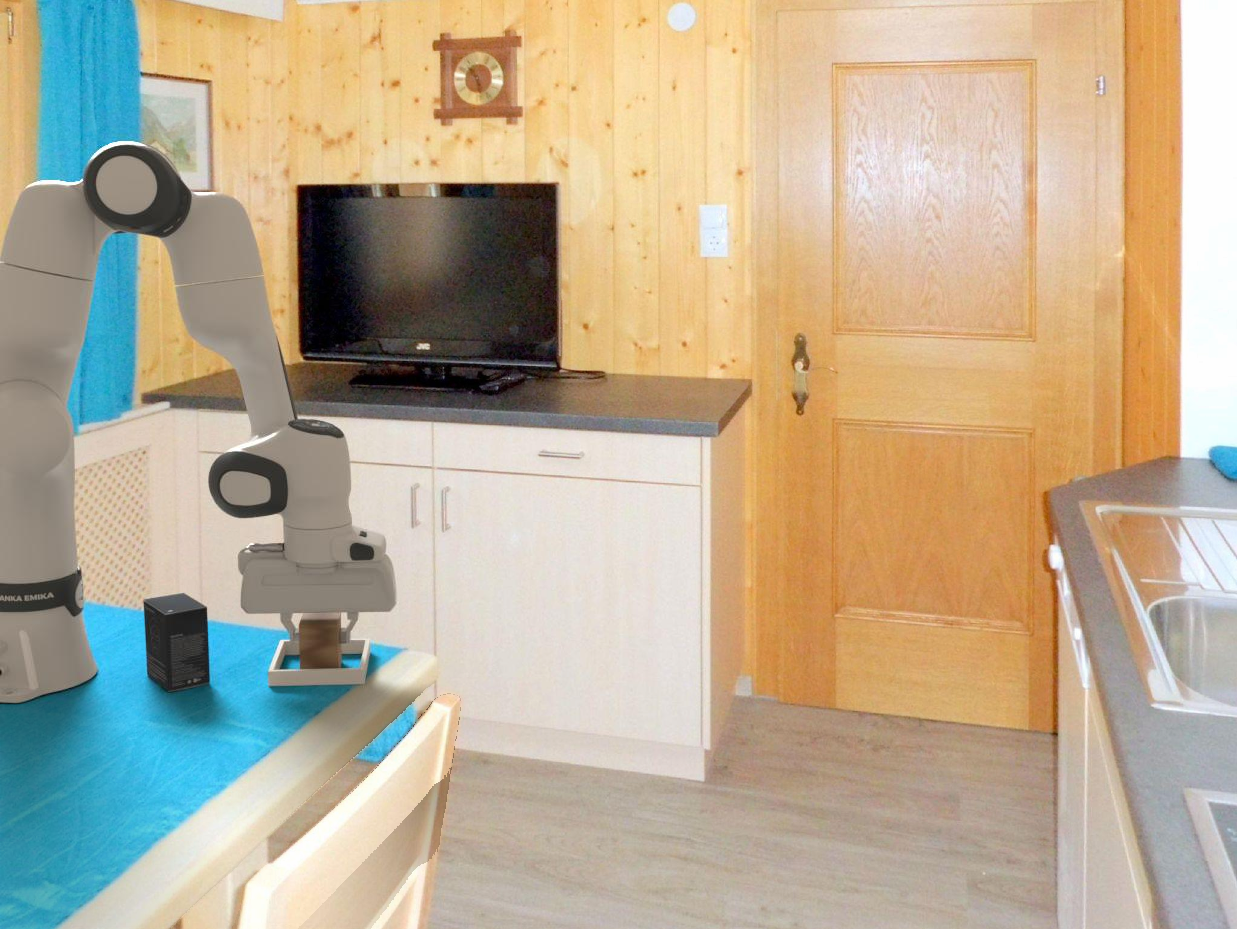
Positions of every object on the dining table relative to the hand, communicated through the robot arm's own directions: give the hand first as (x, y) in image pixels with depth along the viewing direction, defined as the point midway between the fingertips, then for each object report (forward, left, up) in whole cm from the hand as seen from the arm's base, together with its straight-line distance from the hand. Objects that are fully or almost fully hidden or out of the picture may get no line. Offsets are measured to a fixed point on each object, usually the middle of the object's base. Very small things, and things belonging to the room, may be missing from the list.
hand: (320, 642), depth 179 cm
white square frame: (0, 0, -4) cm, 4 cm away
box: (-18, -3, -4) cm, 19 cm away
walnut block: (0, 0, -4) cm, 4 cm away
